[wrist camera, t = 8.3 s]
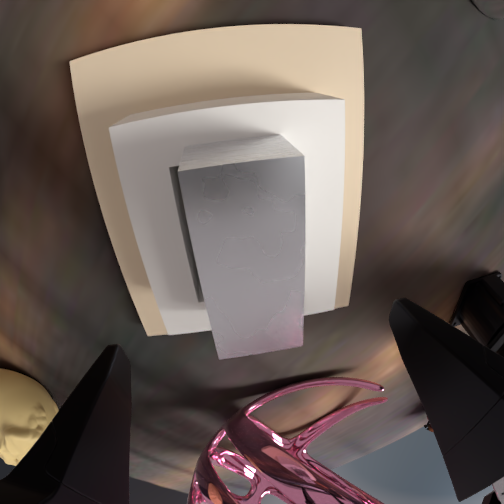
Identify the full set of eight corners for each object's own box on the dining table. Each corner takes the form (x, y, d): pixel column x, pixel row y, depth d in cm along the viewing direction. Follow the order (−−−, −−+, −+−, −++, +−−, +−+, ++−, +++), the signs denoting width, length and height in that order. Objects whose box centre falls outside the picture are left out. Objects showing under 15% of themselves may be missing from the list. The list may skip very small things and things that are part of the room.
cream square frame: (343, 296, 25) (367, 341, 21) (149, 325, 24) (142, 377, 20) (352, 30, 14) (399, 22, 10) (77, 61, 13) (34, 61, 9)
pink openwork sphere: (564, 428, 10) (322, 690, 1) (457, 458, 31) (339, 593, 21) (286, 277, 27) (77, 492, 17) (316, 375, 47) (204, 495, 38)
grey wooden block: (273, 259, 21) (302, 345, 15) (212, 268, 20) (219, 359, 14) (263, 120, 16) (304, 155, 10) (189, 129, 16) (177, 171, 9)
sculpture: (69, 420, 32) (58, 490, 23) (-7, 390, 28) (-26, 455, 19) (68, 379, 27) (50, 468, 18) (-23, 341, 23) (-56, 418, 14)
